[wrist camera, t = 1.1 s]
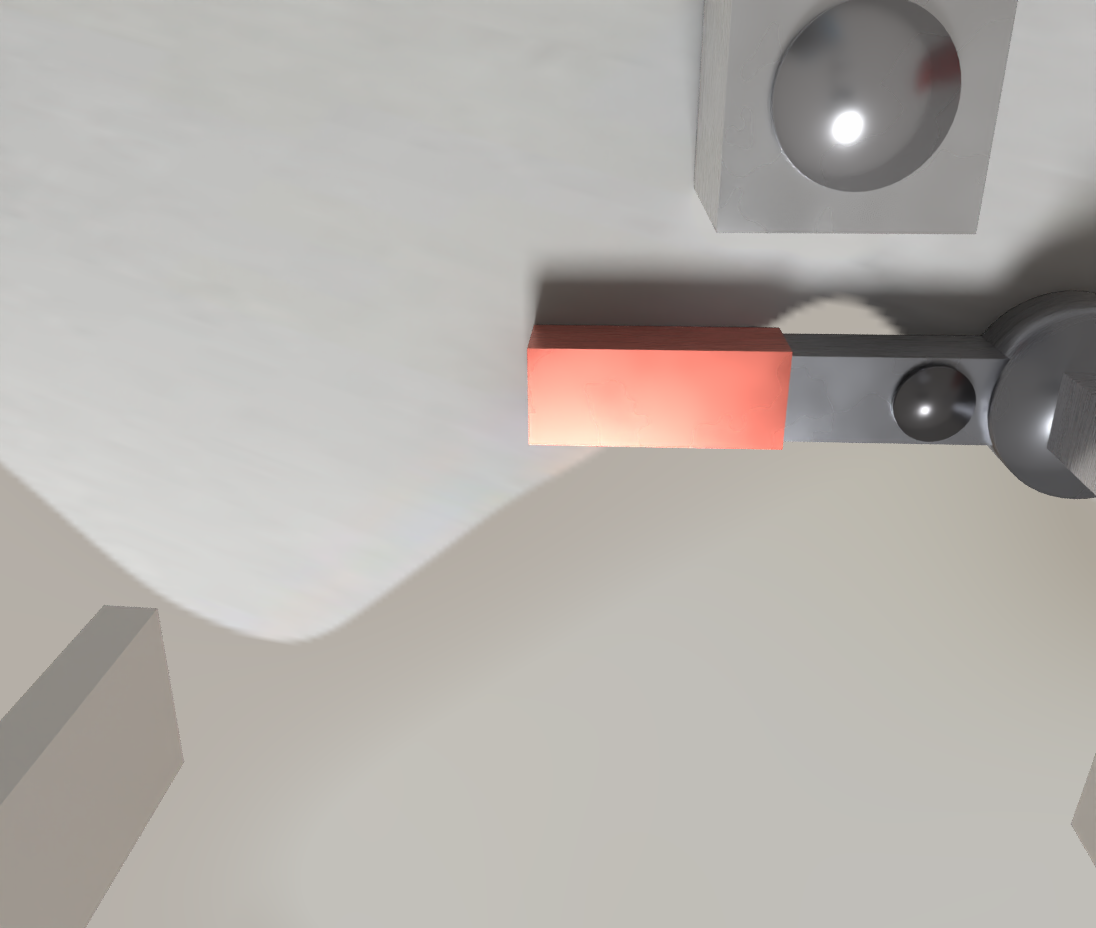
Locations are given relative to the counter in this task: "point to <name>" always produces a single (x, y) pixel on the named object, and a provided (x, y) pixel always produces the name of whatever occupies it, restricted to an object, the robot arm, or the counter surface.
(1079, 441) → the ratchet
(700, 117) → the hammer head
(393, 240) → the counter surface
